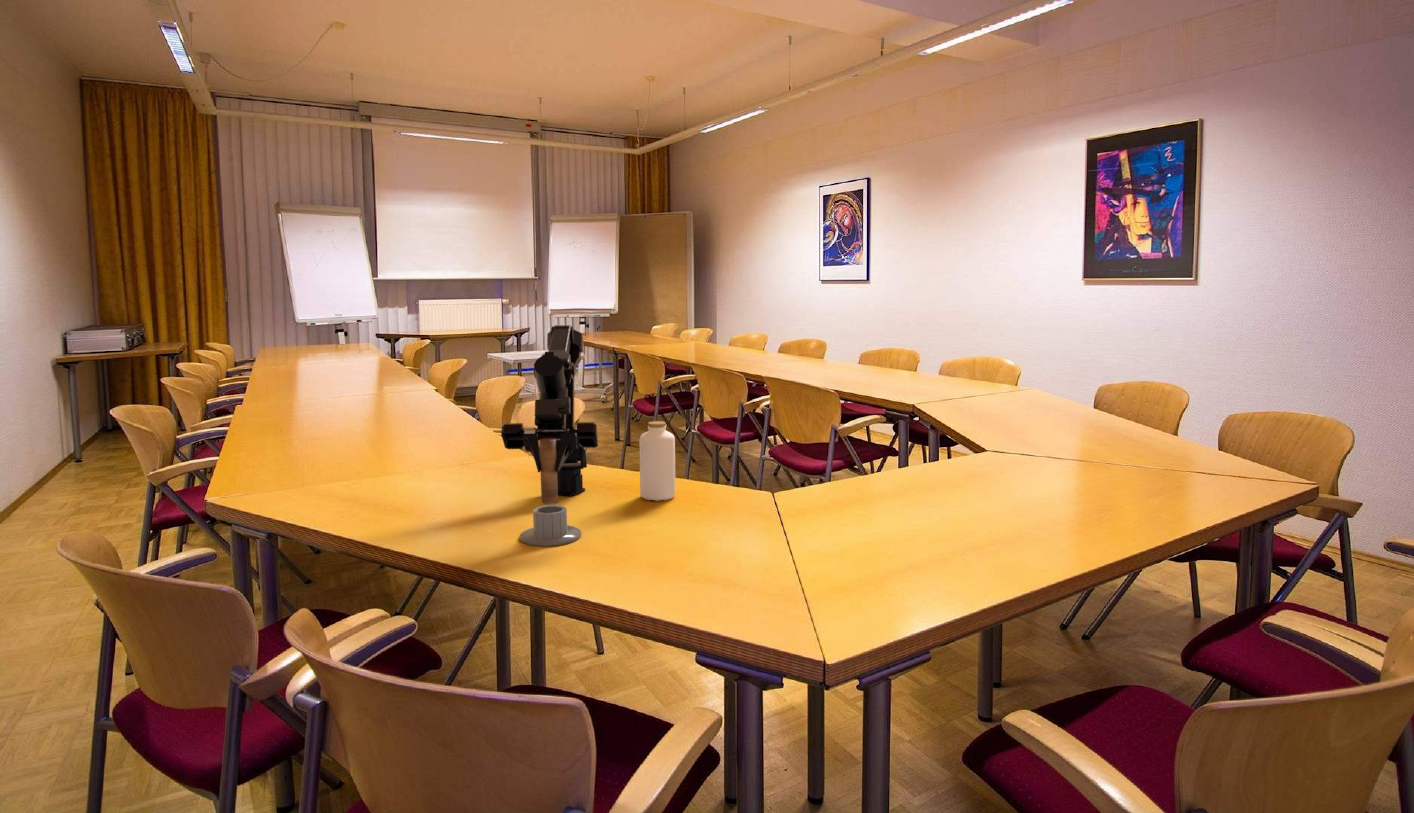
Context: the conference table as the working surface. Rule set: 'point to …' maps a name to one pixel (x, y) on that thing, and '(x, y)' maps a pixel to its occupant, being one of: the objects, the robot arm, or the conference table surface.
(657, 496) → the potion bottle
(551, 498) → the brown wooden dowel
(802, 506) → the conference table surface
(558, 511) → the grey flared collar base
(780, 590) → the conference table surface
